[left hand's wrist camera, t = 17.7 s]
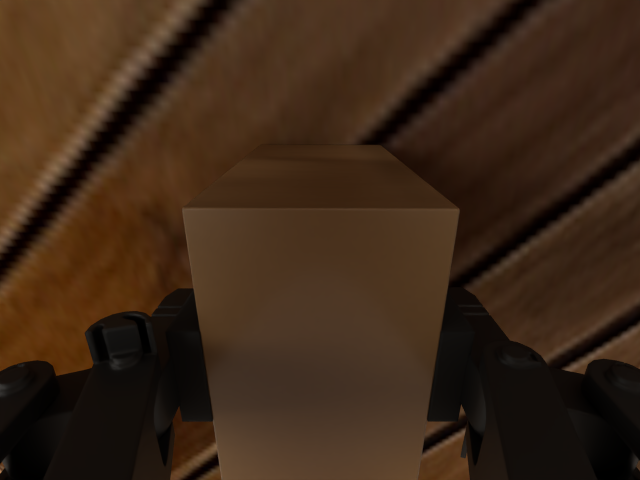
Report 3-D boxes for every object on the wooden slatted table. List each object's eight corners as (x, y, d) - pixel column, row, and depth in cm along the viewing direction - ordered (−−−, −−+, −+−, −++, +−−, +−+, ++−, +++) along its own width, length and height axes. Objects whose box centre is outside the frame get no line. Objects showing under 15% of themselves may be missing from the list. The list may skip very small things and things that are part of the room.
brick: (269, 303, 19) (222, 492, 10) (260, 144, 16) (180, 208, 7) (370, 303, 19) (416, 492, 10) (380, 144, 16) (461, 208, 7)
